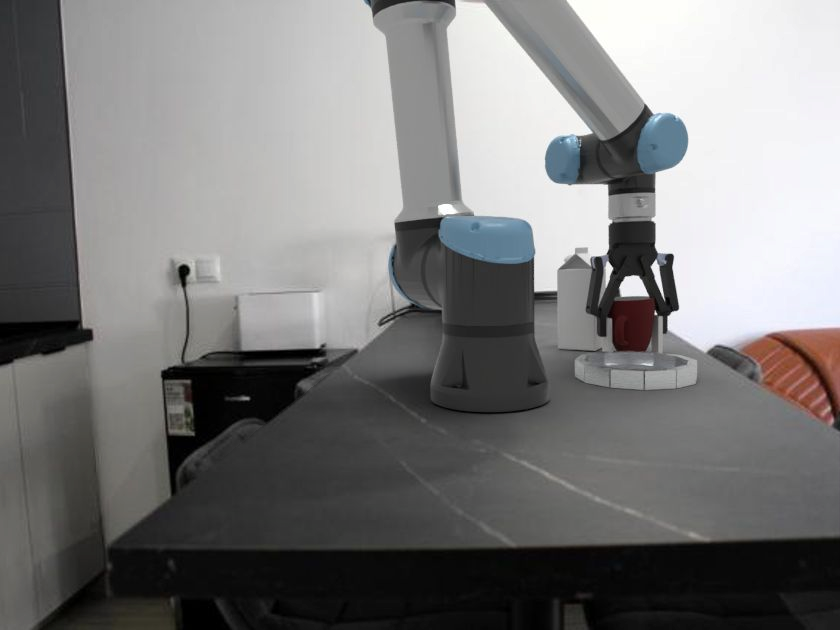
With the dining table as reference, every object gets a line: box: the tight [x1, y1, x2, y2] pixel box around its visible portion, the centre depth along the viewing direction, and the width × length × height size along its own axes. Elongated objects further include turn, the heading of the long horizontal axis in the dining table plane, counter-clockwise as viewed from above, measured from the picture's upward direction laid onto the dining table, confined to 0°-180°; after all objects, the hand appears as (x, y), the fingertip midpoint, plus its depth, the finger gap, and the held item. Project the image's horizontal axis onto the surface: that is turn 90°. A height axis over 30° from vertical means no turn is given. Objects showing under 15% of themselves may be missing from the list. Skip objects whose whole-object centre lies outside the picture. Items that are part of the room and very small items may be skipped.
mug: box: [607, 295, 656, 352], centre depth 106 cm, size 11×8×10 cm
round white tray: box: [574, 350, 698, 391], centre depth 90 cm, size 16×16×2 cm
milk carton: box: [556, 246, 607, 352], centre depth 117 cm, size 7×7×19 cm
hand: (632, 354), depth 106 cm, fingers closed on mug, 8 cm apart
